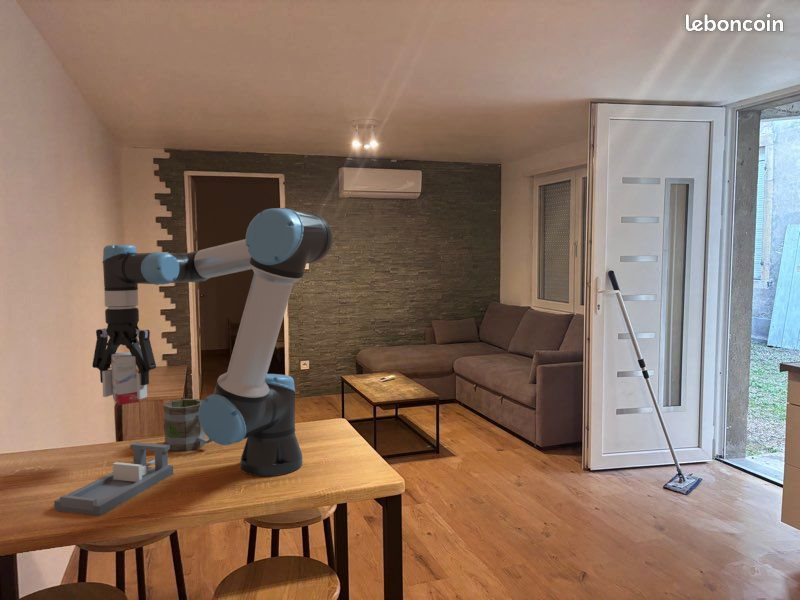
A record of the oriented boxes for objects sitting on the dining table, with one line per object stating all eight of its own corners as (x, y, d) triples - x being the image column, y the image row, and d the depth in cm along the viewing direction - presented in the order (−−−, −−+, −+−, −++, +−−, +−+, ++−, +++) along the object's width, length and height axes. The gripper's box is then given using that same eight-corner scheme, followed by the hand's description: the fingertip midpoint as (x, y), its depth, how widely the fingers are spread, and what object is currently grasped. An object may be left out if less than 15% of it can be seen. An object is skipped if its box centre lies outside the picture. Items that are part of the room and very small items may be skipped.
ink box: (139, 403, 144) (137, 355, 143) (116, 406, 141) (114, 357, 141) (133, 396, 151) (131, 351, 151) (111, 399, 149) (109, 353, 148)
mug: (155, 449, 159) (154, 405, 158) (184, 438, 169) (183, 397, 168) (200, 456, 153) (199, 411, 152) (228, 444, 163) (227, 402, 162)
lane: (173, 473, 141) (172, 445, 140) (99, 516, 118) (98, 482, 117) (134, 469, 144) (133, 441, 143) (54, 510, 120) (53, 477, 120)
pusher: (172, 464, 144) (171, 449, 144) (139, 482, 132) (138, 466, 132) (148, 461, 145) (147, 447, 145) (113, 479, 134) (113, 463, 134)
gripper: (170, 307, 146) (172, 395, 147) (95, 305, 151) (99, 391, 153) (150, 309, 139) (153, 402, 140) (73, 308, 144) (76, 397, 145)
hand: (125, 396), depth 146 cm, fingers closed on ink box, 9 cm apart
